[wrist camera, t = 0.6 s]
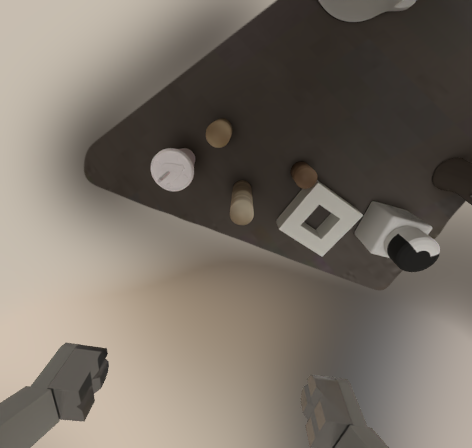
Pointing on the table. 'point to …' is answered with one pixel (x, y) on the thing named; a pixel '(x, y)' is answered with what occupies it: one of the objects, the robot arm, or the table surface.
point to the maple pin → (241, 203)
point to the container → (398, 237)
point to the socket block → (329, 229)
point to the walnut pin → (303, 175)
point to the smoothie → (173, 168)
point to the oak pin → (219, 133)
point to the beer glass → (455, 177)
